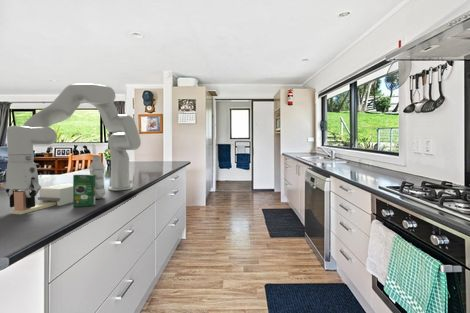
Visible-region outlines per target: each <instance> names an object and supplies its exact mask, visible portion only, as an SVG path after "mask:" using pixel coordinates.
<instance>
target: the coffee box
mask: <svg viewBox="0 0 470 313" xmlns="http://www.w3.org/2000/svg"><path fill="white" fill-rule="evenodd" d="M72 176H73V178H72V179H73V181H72V182H73V183H72V184H73V202H72V204H73V206H72V207H74V208H76V207H78V208H79V207H94V206H96V199H95V175H90V174H73V175H72Z"/></svg>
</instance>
